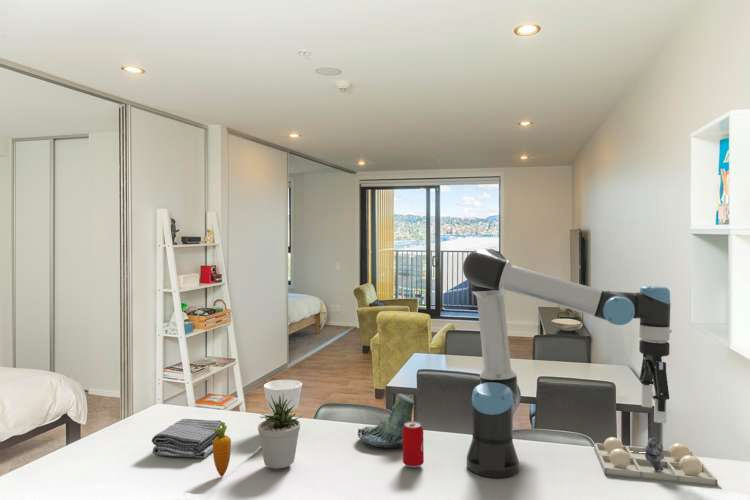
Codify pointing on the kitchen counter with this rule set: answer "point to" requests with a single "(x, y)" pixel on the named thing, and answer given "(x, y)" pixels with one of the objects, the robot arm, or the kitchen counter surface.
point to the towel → (187, 438)
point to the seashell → (655, 453)
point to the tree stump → (390, 425)
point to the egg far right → (678, 451)
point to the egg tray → (651, 467)
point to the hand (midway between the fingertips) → (653, 414)
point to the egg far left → (612, 444)
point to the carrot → (221, 450)
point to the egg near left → (619, 458)
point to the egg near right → (690, 465)
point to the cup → (283, 386)
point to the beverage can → (413, 444)
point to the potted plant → (279, 436)
